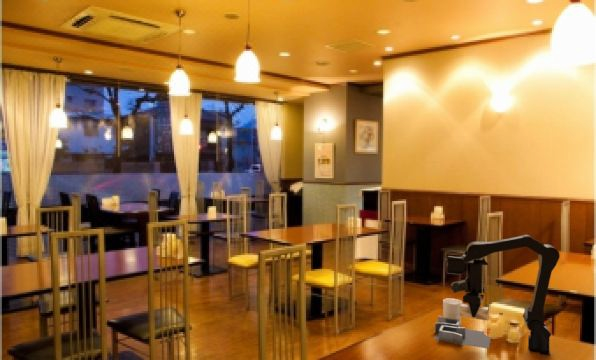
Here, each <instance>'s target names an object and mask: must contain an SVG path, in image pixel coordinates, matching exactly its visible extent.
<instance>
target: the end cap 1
mask: <svg viewBox="0 0 596 360" xmlns="http://www.w3.org/2000/svg"><path fill="white" fill-rule="evenodd" d="M437 320H438V321H437V322H434V334H437V333H439V329H440V327H441V325H446V326H453V327H461V324H460V320H457V319H450V318H444V316H441V315H438V319H437Z"/></svg>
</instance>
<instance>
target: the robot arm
mask: <svg viewBox="0 0 596 360" xmlns="http://www.w3.org/2000/svg"><path fill="white" fill-rule="evenodd" d="M525 247H526V248H528V249H530V250H531V251H533V252H535V253H536V254H537V256H538V257H537V260H538V271H537V275H536V281H535V285H534V289H533V293H532V297H531V298H532V299H531V302H530V304H529V306H524V312H523V314H522V318H523V321H524V323H525V325H526V327H527V328H528V330H529V331H530V333H529V335H528V340H527V343H528V345H527V347H528V349H529V352H532V353H538V354H540V355H548V356H549V355H551V352H550V337H551V335H552V333H551V331H550V330H549V328H548V326H547V325H546V324H545V310H544V309H545V303H546V299H547V296H548V291H549V286H550V281H551V277H552V272H553V271H554V269H555V268H556V266H557V264H558V261H559V259H560V252H559V250H558V249H557V248H555V247H554V246H553V245H551V244H548V243H547V244H544V243H543V242H540V241H539V240H537V239H535V238H533V237H531V235H529V234H523V235H519V236H514V237H510V238H504V239H499V240H493V241H471V242H469V243H468V245H467V246H466V250H465V252H463V254H462V255H461V256H452V255H448V256H447V262H446V274H448V275H449V274H451V275H463V274H464V273H466V277H465V279H463V280H462V279H461V280H457V281H454V282H451V284H450V286H451V288H450V289H451V290H452V292H453V293H454V294H456V293H459V292H463V291H464V292H465V293H464V294H463V296H462V303H463V304H468V305H469V306H470V310H471V314H472V317H475V316H476V314H477V312H478V309H479V307H480V306H482V305H481V304H482V303H483V300H484V296H485V295H484V294H486V286H485V285H484V284H483V283H484V282H483V281H484V277H483V276H484V273H483V272H484V271H483V270H484V269H483V268H484V266H489V262H488V261H487V260H486V259H485V257H488V256H490V255H491V254H495V253H500V252H504V251H510V250H516V249H521V248H525Z"/></svg>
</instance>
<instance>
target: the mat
mask: <svg viewBox="0 0 596 360" xmlns="http://www.w3.org/2000/svg"><path fill="white" fill-rule="evenodd" d="M484 332H485V331H482V330H474V329H468V328H465V338H463V345H462V346H464V345H465V346H469V347H470V346H471V347H477V348H483V349H490V344H491V338H492V336H491V337H488V336H486V335H485V334H484ZM433 340H434V341H439V333H435V336H434V338H433Z"/></svg>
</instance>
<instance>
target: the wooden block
mask: <svg viewBox="0 0 596 360" xmlns="http://www.w3.org/2000/svg"><path fill="white" fill-rule="evenodd" d="M460 316H461V318H462V317H463V318H470V319H475V320H482V321H488V320H489V306H482V305H480V307H479V309H478V312H477V314H476V316H475V317H472V314H471V310H470V306H469V304H468V303H462V304H461V305H460Z"/></svg>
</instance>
